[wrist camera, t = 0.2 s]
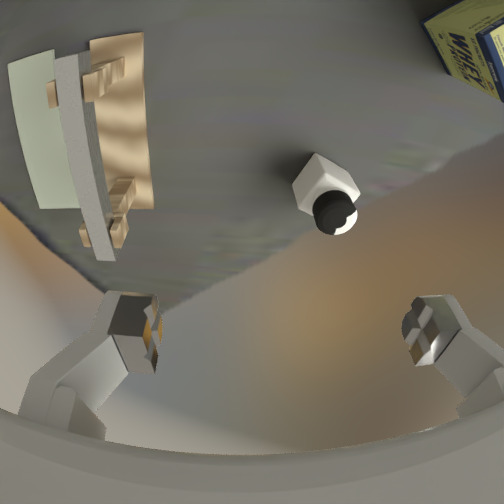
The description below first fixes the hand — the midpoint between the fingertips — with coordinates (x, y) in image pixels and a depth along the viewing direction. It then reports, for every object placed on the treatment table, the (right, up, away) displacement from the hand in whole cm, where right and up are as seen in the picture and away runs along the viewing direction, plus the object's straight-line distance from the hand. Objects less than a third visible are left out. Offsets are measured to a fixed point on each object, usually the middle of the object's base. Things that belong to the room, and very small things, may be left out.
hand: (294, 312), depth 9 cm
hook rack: (-21, +21, +33) cm, 44 cm away
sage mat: (-37, +22, +31) cm, 53 cm away
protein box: (+32, +37, +20) cm, 53 cm away
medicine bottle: (+10, +14, +41) cm, 44 cm away
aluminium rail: (-21, +13, +24) cm, 34 cm away
